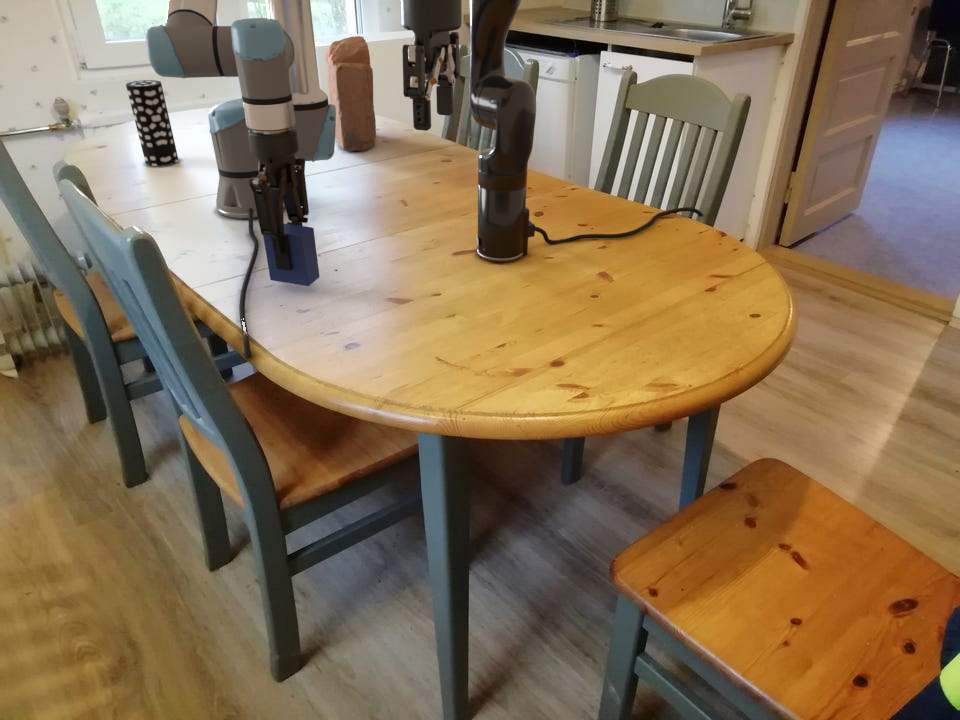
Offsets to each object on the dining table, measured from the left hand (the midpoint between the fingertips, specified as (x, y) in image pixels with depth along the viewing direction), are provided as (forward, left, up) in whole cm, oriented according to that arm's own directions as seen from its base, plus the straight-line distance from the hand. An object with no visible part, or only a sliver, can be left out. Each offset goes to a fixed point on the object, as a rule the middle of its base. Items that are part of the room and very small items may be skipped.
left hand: (291, 263), depth 122 cm
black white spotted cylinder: (+91, +10, +5) cm, 91 cm away
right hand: (-27, -16, +28) cm, 42 cm away
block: (0, 0, -3) cm, 3 cm away
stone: (+86, -43, -5) cm, 96 cm away
